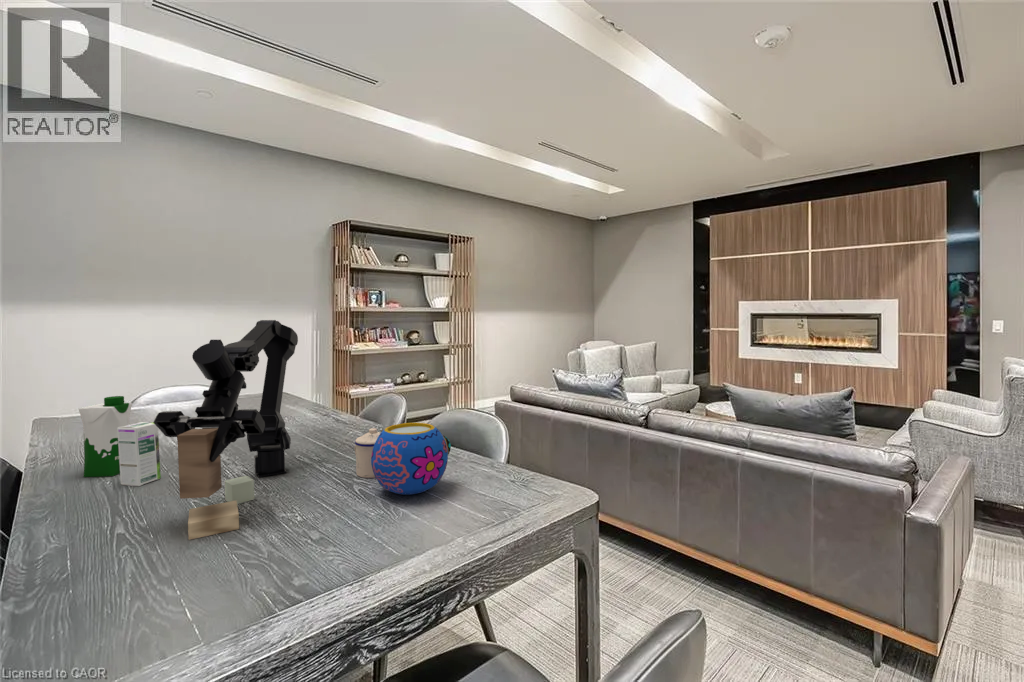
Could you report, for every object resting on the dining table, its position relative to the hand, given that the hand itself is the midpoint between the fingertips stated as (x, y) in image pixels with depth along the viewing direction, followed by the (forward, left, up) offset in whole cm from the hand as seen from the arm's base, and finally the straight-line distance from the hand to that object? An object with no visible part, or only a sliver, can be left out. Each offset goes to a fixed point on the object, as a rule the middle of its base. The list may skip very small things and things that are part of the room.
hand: (196, 461), depth 89 cm
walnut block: (-1, -1, -7) cm, 7 cm away
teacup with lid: (-38, -16, -14) cm, 43 cm away
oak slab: (-3, 0, -13) cm, 14 cm away
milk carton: (+20, -54, -14) cm, 60 cm away
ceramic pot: (-42, +3, -14) cm, 44 cm away
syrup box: (+12, -40, -14) cm, 45 cm away
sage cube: (-8, -13, -14) cm, 21 cm away
